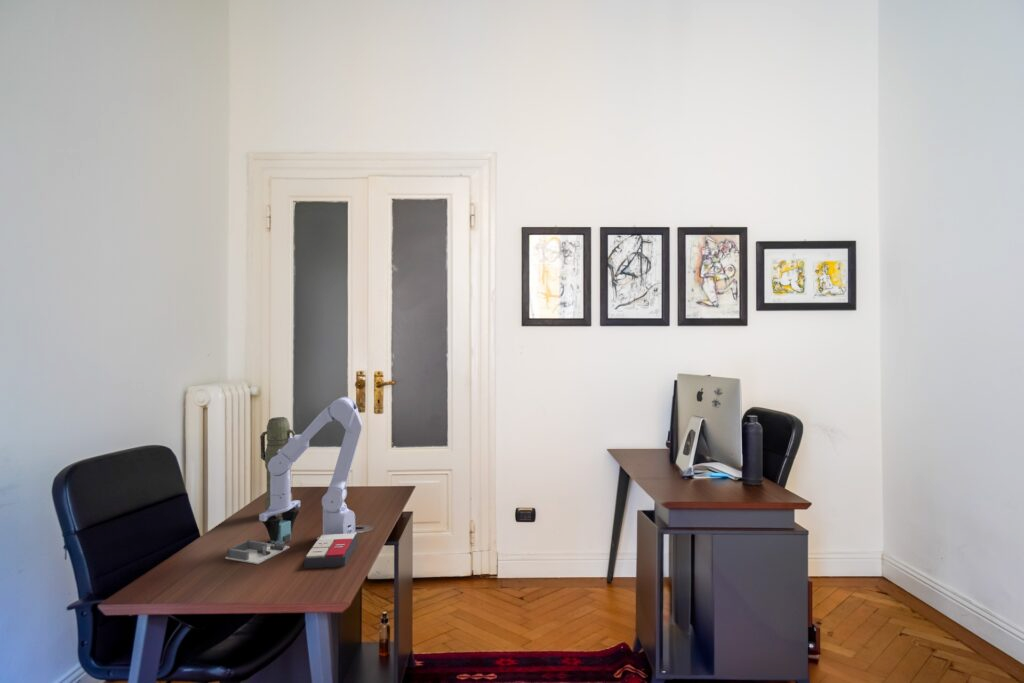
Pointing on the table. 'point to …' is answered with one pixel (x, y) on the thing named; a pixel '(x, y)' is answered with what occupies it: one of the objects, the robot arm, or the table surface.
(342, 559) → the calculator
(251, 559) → the board
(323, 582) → the table surface
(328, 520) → the robot arm
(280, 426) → the thermos
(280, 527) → the pale blue cube
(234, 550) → the end holder
